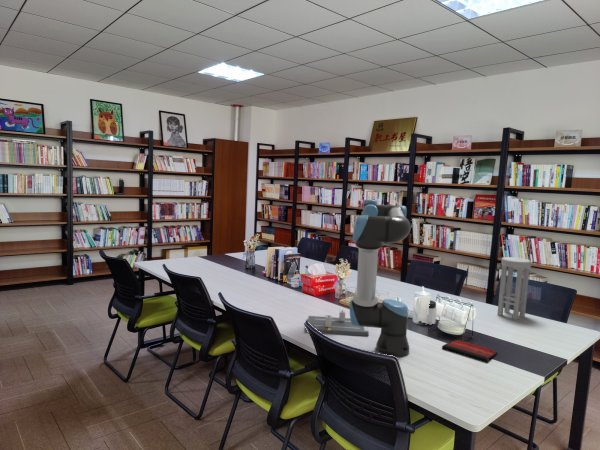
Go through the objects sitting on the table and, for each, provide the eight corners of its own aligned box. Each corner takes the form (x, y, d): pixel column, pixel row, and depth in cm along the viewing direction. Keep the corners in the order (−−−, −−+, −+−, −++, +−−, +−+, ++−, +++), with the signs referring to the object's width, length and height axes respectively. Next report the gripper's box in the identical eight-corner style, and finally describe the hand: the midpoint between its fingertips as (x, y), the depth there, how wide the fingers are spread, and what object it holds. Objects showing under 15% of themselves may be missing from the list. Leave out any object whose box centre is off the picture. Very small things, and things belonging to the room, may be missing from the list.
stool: (518, 321, 245) (524, 262, 241) (492, 314, 257) (497, 258, 253) (529, 316, 255) (535, 260, 251) (504, 310, 266) (509, 256, 263)
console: (368, 336, 212) (368, 332, 212) (305, 332, 215) (305, 328, 215) (365, 322, 233) (366, 319, 233) (308, 318, 236) (308, 315, 236)
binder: (487, 358, 186) (441, 345, 200) (487, 364, 186) (441, 350, 200) (499, 350, 198) (455, 338, 212) (498, 355, 198) (454, 342, 212)
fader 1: (331, 326, 217) (331, 317, 216) (325, 326, 217) (325, 317, 217) (331, 324, 221) (331, 315, 220) (325, 323, 221) (326, 314, 221)
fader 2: (344, 321, 226) (345, 312, 226) (339, 321, 227) (339, 312, 226) (344, 319, 230) (345, 310, 230) (339, 318, 231) (339, 310, 230)
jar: (416, 320, 240) (417, 299, 239) (428, 319, 243) (430, 299, 242) (425, 325, 232) (426, 304, 231) (437, 324, 234) (439, 303, 233)
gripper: (380, 227, 234) (377, 268, 236) (356, 226, 235) (354, 267, 237) (381, 228, 226) (379, 271, 229) (357, 227, 227) (355, 270, 230)
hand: (366, 269), depth 233 cm, fingers closed
